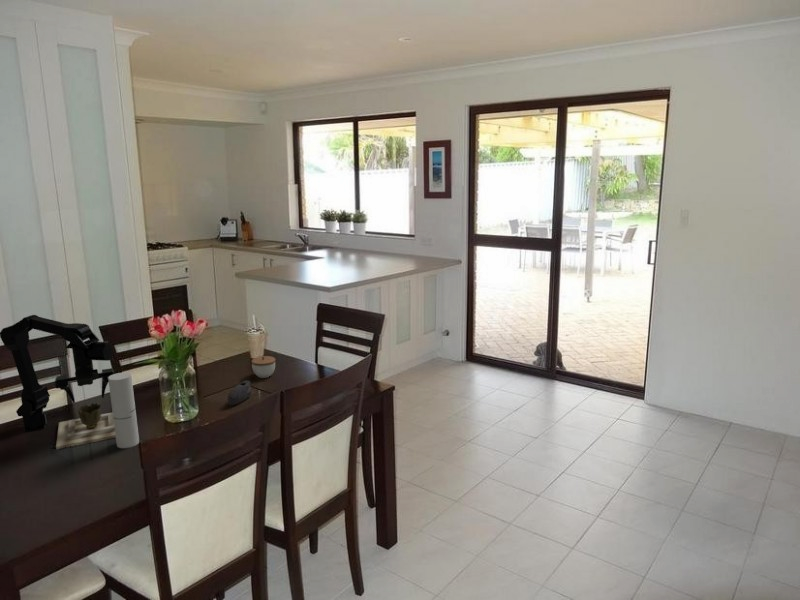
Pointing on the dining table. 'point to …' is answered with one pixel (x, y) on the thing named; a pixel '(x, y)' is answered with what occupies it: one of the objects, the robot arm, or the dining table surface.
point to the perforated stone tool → (239, 393)
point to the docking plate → (79, 429)
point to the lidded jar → (263, 366)
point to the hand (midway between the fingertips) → (88, 400)
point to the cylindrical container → (123, 410)
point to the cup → (90, 415)
